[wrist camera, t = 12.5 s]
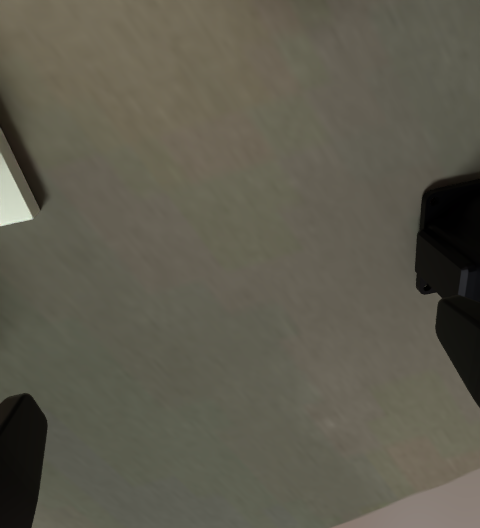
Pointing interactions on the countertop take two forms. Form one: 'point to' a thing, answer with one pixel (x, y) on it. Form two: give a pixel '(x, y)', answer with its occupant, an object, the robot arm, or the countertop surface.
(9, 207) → the board
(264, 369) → the countertop surface
